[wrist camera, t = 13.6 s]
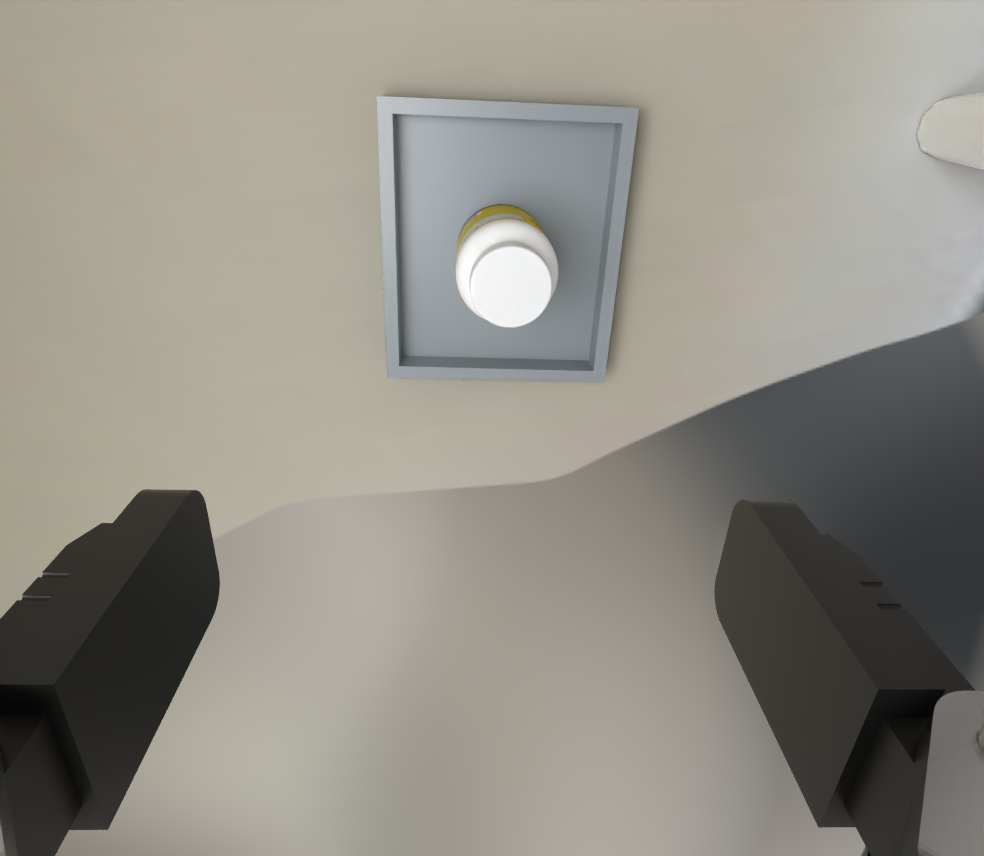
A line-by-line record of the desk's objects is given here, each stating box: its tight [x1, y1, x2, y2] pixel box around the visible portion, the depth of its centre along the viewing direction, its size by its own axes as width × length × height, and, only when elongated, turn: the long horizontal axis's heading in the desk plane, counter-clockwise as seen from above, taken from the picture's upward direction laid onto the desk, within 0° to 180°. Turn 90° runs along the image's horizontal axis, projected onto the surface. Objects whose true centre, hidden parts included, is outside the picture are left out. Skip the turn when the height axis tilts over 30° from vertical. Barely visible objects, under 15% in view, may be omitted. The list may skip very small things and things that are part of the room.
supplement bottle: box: [455, 204, 558, 328], centre depth 35 cm, size 5×5×10 cm
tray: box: [377, 96, 639, 383], centre depth 39 cm, size 16×14×2 cm
